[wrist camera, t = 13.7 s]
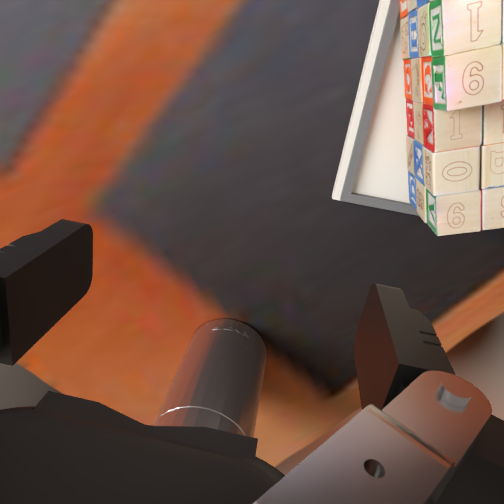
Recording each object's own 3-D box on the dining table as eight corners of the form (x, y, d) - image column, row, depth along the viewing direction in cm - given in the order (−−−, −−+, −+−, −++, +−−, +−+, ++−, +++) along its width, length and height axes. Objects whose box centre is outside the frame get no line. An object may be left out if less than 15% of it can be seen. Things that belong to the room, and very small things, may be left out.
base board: (453, 219, 41) (460, 225, 40) (331, 195, 42) (332, 201, 40) (579, -116, 31) (596, -127, 29) (414, -140, 32) (420, -153, 30)
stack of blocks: (480, 192, 38) (550, 243, 27) (407, 202, 39) (445, 254, 28) (486, -97, 30) (586, -194, 19) (395, -74, 32) (439, -154, 20)
